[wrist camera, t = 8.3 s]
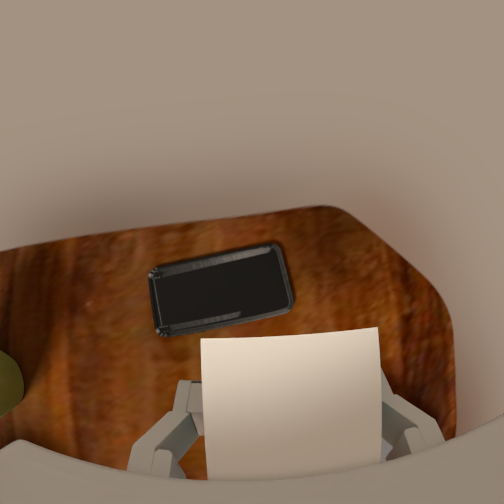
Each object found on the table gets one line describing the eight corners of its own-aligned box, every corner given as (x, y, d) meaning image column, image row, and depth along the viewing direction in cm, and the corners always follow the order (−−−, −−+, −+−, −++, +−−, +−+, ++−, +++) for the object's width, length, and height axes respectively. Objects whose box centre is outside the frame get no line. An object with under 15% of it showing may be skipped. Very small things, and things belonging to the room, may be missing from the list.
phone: (147, 269, 32) (278, 241, 33) (150, 272, 33) (278, 244, 34) (156, 339, 29) (296, 311, 30) (159, 339, 30) (295, 312, 31)
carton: (316, 421, 16) (380, 482, 6) (231, 427, 16) (208, 500, 6) (313, 342, 17) (378, 325, 8) (228, 346, 17) (198, 336, 8)
